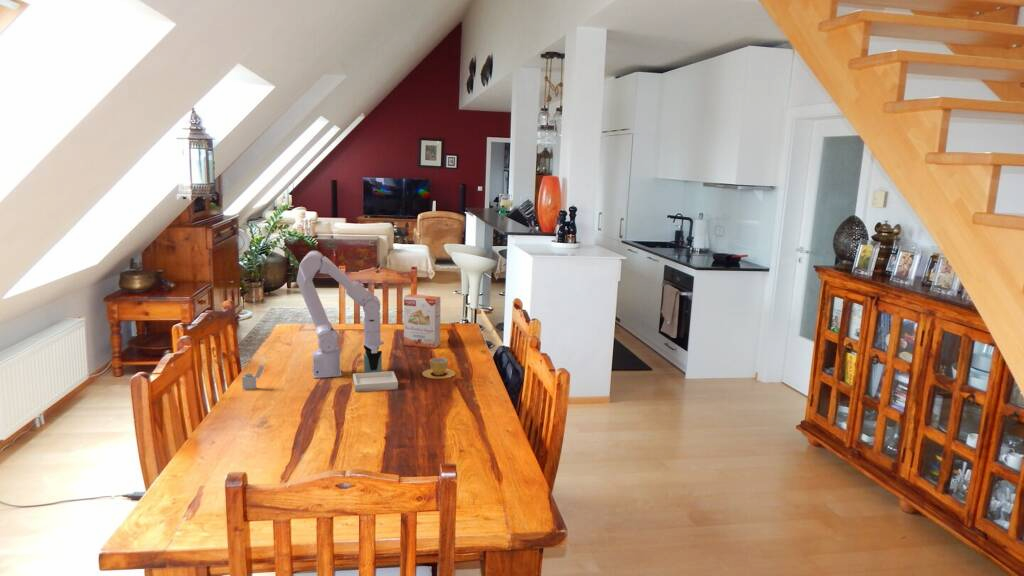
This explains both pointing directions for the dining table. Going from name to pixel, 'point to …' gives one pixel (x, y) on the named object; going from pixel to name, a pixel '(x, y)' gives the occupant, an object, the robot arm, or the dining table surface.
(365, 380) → the tray
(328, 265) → the robot arm
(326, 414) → the dining table surface
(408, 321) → the cracker box
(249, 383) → the lighter
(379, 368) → the teal block
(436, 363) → the cup
